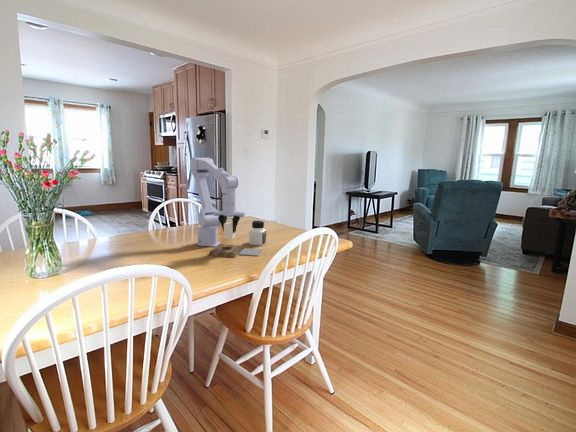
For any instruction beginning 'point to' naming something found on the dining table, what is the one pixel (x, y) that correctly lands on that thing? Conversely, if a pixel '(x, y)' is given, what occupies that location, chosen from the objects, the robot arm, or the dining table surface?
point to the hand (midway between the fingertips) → (229, 231)
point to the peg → (228, 230)
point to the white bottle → (257, 233)
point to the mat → (250, 252)
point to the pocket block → (226, 250)
